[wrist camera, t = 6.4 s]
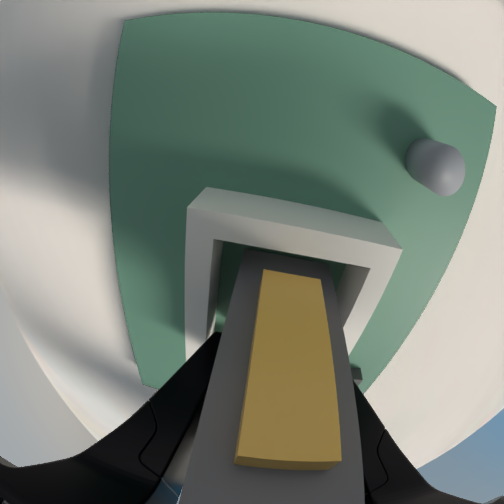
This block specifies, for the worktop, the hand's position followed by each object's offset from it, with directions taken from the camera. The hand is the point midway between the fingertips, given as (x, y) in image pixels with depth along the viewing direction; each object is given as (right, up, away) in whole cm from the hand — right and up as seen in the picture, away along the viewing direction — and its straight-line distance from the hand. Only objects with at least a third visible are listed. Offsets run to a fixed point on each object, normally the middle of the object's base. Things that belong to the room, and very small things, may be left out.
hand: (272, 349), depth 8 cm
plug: (0, +1, +2) cm, 2 cm away
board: (0, +2, +3) cm, 4 cm away
